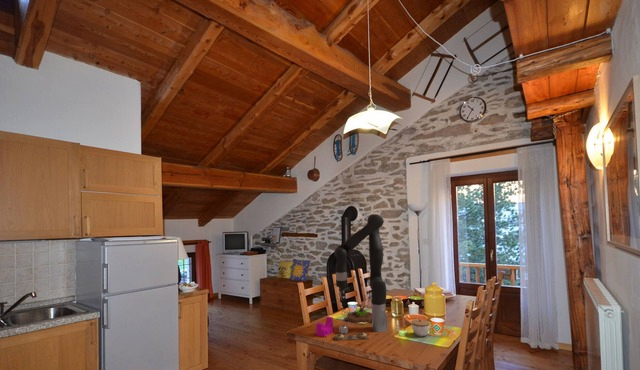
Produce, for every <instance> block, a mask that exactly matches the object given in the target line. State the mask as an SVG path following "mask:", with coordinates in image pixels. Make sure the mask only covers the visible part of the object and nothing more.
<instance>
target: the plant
mask: <svg viewBox="0 0 640 370" xmlns="http://www.w3.org/2000/svg"><path fill="white" fill-rule="evenodd" d="M356 307H359V308H357V309H355V310H353V311H351V312H349V313H347V316H346V318H347V320H348V322H352V323H354V324H359V323H360V322H363V323H372V311H371V312H369V311H368V310H367V309H369V308H370V305H367V304H366V305H363V306H362V305H361V303H357V304H356ZM365 307H367V308H365ZM360 324H361V323H360Z"/></svg>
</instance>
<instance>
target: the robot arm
mask: <svg viewBox="0 0 640 370" xmlns="http://www.w3.org/2000/svg"><path fill="white" fill-rule="evenodd" d="M366 221H367V222H366V225H364V226H363V227H362V228H361V229H358V230H357V231H356V232H355V233H353V234H352V235H350V236H349V238H348V239H346V240H345V241H344V242H342V243H341V244H339V246H337V247H336V248H335V250H334V252H333V254H334V256H335V259H336V263H335V286H336V287H337V288H338V296H339V303H340V304H341V306H342V307H346V299H347V297H346V291H347V290H346V287H348V286H349V285H348V283H349V282H348V272H347V271H348V270H347V260H348V253H349V252H350V251H353V250H354V249H355V248H356V247H357V246H358V245H359V244H360V243H361V242H362V241H364V240H365V239H366V238H368V257H369V269H370V273H369V287H370V289H371V290H372V291H371V292H372V295H371V297H372V298H370V299H371V300H370V301H371V313H372V322H371V327H372V328H371V329H372V331H373V332H376V333H383V332H387V331H388V315H387V308H386V303H387V302H386V301H387V285H386V282H385V281H384V280H383V279H382V276H383V275H382V265H383V261H384V248H383V244H382V240H381V236H380V228H381V227H382V226H383V225H384V218H383V216H382V215H379V214H376V213H375V214H374V213H373V214H370V215H369V216H367V220H366Z"/></svg>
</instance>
